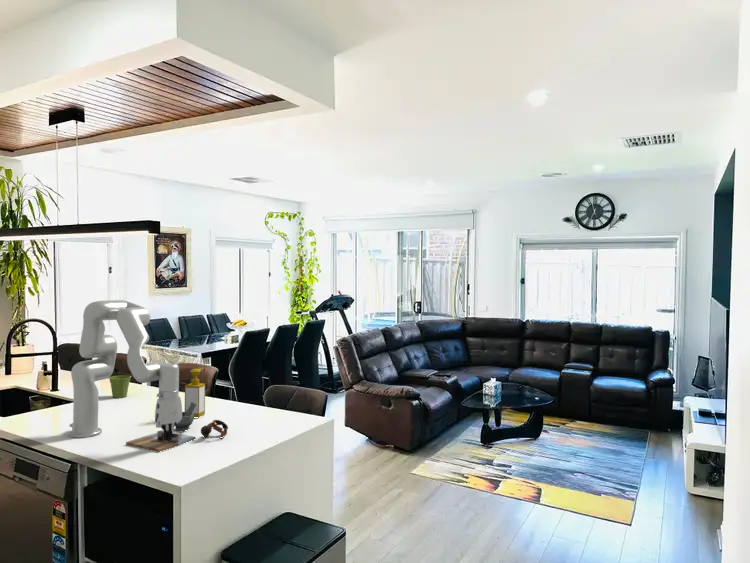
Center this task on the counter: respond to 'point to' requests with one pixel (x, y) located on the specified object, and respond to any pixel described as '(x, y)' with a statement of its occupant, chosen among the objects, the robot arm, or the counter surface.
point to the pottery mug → (207, 429)
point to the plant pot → (119, 386)
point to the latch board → (157, 442)
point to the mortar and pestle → (186, 418)
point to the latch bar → (175, 436)
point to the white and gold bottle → (195, 394)
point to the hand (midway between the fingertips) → (167, 439)
